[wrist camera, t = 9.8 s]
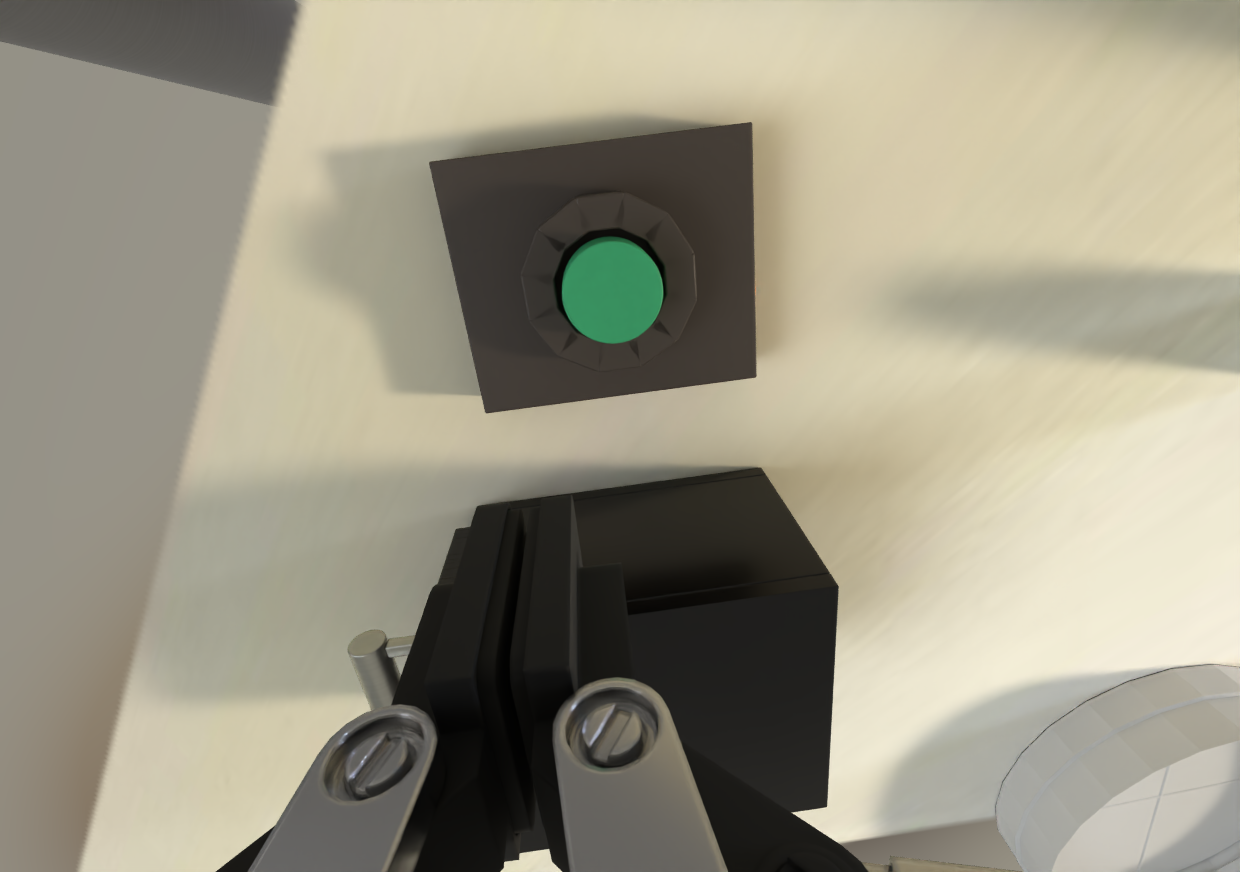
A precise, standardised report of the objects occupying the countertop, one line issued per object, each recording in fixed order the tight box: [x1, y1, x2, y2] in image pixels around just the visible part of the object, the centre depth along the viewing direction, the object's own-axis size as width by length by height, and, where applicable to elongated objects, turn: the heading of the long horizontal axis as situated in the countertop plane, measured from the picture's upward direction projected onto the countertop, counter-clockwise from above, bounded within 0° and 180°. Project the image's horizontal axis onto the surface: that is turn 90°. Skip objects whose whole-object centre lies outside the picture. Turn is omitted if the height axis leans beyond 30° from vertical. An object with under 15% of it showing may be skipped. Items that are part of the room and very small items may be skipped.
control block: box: [429, 122, 756, 413], centre depth 24 cm, size 10×12×4 cm
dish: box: [995, 664, 1240, 872], centre depth 41 cm, size 22×22×5 cm
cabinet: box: [498, 468, 839, 853], centre depth 28 cm, size 15×13×10 cm
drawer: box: [348, 527, 470, 710], centre depth 28 cm, size 18×11×8 cm, turn 96°
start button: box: [562, 236, 663, 344], centre depth 21 cm, size 4×4×2 cm
